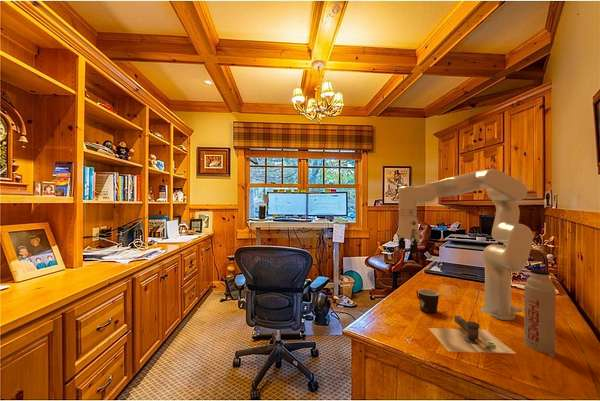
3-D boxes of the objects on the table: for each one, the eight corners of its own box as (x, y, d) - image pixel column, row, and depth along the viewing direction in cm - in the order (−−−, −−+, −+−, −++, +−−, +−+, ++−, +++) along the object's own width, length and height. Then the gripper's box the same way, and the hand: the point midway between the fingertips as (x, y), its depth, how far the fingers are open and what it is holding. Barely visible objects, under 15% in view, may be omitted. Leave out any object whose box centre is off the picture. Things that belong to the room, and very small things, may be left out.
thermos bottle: (539, 358, 88) (540, 273, 88) (518, 344, 96) (518, 267, 96) (561, 356, 89) (562, 273, 89) (538, 343, 97) (538, 267, 96)
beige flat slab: (486, 333, 104) (486, 328, 104) (516, 358, 88) (516, 351, 88) (428, 331, 105) (428, 326, 105) (448, 355, 90) (448, 349, 90)
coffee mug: (441, 319, 116) (441, 296, 116) (420, 317, 118) (420, 295, 118) (433, 308, 128) (434, 287, 128) (414, 306, 130) (414, 286, 129)
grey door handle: (490, 349, 89) (490, 333, 89) (478, 348, 89) (478, 332, 89) (461, 324, 107) (461, 311, 107) (452, 324, 107) (452, 310, 107)
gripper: (427, 214, 112) (427, 255, 112) (404, 212, 129) (405, 247, 129) (410, 214, 111) (410, 255, 111) (390, 212, 128) (390, 248, 128)
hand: (407, 251), depth 120 cm, fingers open, 9 cm apart
